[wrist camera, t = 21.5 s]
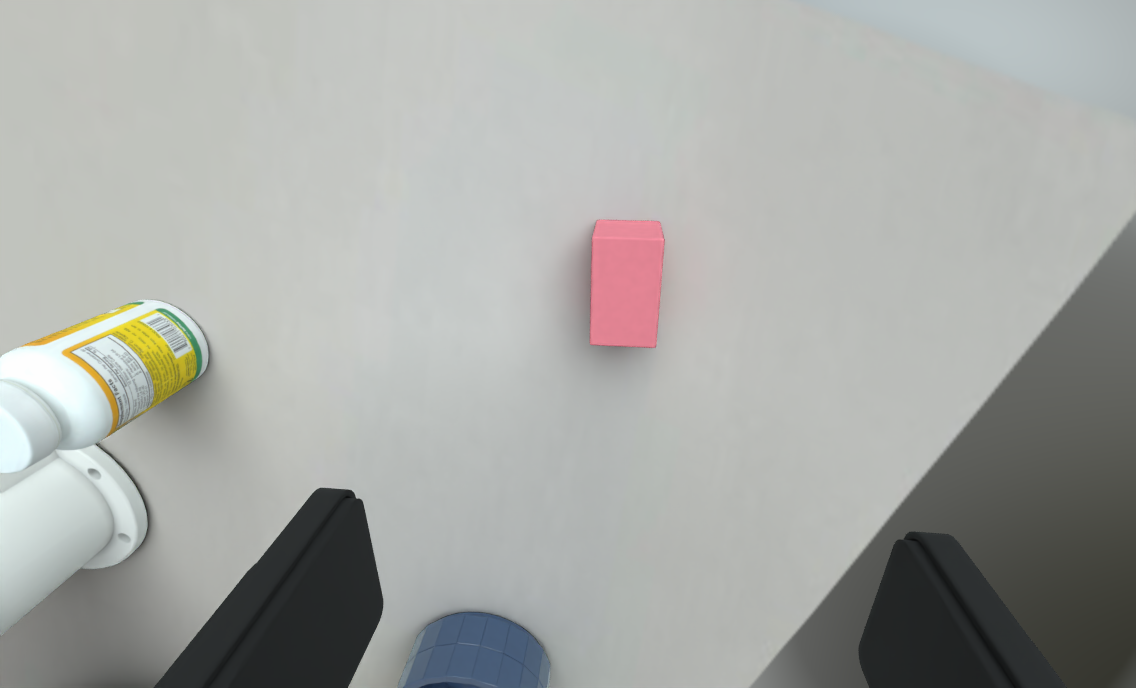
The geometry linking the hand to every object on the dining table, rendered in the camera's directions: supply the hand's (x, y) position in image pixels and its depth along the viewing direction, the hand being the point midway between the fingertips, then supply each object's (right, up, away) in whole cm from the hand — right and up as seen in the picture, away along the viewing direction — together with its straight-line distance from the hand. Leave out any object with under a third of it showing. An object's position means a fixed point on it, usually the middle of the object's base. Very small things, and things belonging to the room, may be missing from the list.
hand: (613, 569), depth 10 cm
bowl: (-7, -19, +30) cm, 36 cm away
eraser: (+2, +8, +16) cm, 18 cm away
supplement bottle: (-24, +4, +21) cm, 32 cm away
